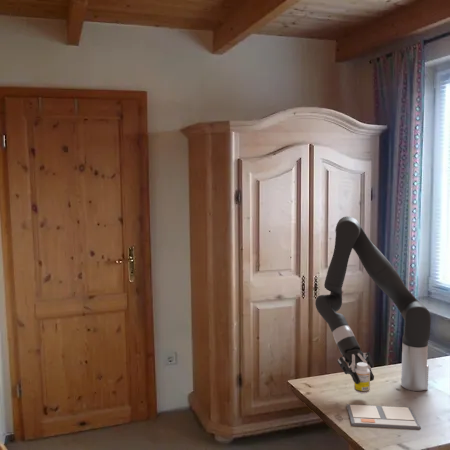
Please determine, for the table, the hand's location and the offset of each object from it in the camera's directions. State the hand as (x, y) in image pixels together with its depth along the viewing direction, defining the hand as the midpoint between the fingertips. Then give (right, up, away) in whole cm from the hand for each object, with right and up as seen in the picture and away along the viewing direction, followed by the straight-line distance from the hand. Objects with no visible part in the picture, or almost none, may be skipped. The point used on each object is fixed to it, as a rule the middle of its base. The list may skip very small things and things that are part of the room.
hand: (365, 381), depth 184 cm
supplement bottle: (-1, -4, +2) cm, 5 cm away
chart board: (+3, -9, -11) cm, 14 cm away
